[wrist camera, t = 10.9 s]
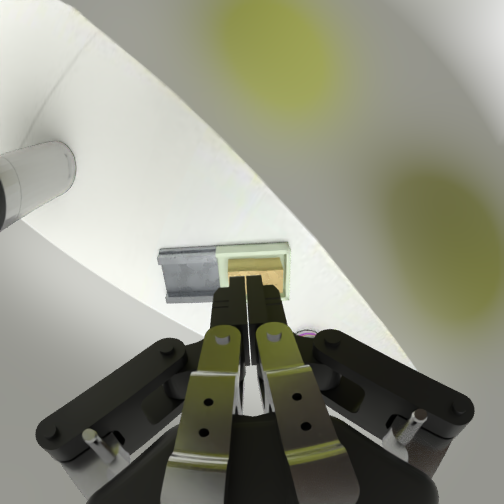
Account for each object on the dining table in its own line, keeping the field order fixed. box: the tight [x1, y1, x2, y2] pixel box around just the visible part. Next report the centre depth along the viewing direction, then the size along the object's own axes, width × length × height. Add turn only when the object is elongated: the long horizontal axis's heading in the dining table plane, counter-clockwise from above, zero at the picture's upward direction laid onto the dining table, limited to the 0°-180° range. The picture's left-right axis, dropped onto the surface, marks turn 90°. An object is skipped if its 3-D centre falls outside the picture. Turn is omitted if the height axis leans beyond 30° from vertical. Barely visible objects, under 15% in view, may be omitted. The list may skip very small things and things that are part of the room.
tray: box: [215, 242, 291, 303], centre depth 45 cm, size 11×9×3 cm
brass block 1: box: [228, 258, 256, 294], centre depth 44 cm, size 4×4×4 cm
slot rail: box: [157, 246, 220, 303], centre depth 45 cm, size 9×9×2 cm
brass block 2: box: [254, 257, 283, 293], centre depth 44 cm, size 4×4×4 cm
